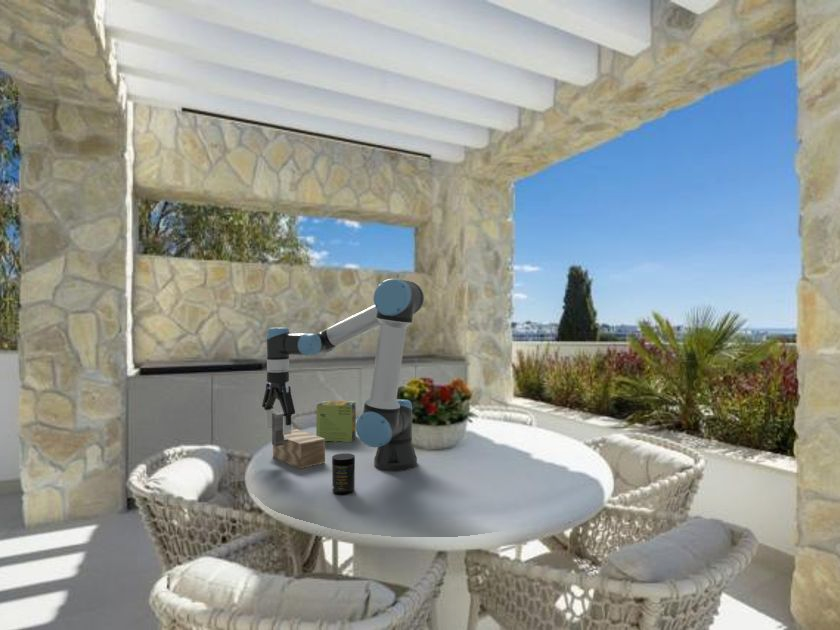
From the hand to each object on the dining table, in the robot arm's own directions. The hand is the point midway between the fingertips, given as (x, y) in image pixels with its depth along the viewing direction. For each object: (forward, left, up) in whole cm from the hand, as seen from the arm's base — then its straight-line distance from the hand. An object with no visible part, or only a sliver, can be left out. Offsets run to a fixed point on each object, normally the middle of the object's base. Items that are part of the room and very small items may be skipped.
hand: (277, 431), depth 167 cm
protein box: (+16, -35, -12) cm, 40 cm away
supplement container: (-38, -2, -12) cm, 40 cm away
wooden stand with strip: (0, -6, -5) cm, 7 cm away
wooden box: (0, -8, -12) cm, 14 cm away
